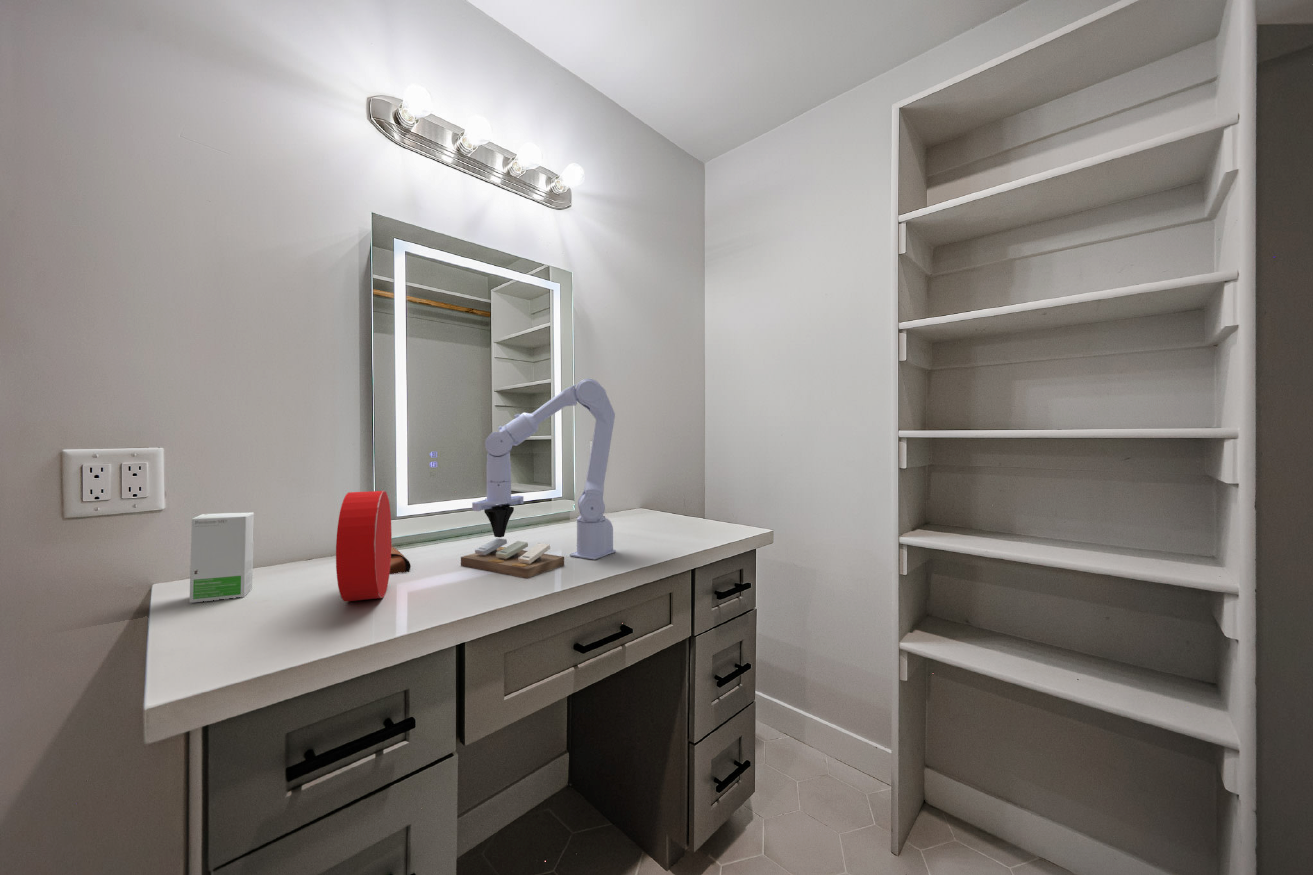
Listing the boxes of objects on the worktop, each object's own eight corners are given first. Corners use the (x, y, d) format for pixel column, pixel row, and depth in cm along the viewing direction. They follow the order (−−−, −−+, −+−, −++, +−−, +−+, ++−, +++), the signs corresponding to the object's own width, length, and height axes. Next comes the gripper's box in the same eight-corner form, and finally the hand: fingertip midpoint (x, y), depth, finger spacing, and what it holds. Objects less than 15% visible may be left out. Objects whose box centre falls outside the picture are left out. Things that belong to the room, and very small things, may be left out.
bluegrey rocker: (497, 541, 125) (497, 537, 125) (507, 543, 123) (506, 539, 123) (475, 553, 119) (474, 549, 119) (484, 555, 117) (484, 550, 117)
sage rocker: (518, 544, 121) (517, 540, 121) (528, 546, 120) (527, 542, 120) (496, 557, 115) (495, 552, 115) (506, 558, 114) (505, 554, 114)
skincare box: (188, 604, 91) (187, 518, 91) (200, 594, 97) (199, 513, 97) (246, 597, 95) (245, 515, 95) (255, 587, 101) (254, 510, 101)
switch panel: (500, 554, 128) (500, 543, 128) (564, 565, 118) (564, 552, 118) (460, 565, 118) (460, 553, 118) (527, 578, 107) (527, 564, 107)
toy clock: (359, 584, 103) (359, 486, 103) (391, 581, 105) (391, 485, 105) (336, 617, 85) (335, 498, 84) (375, 613, 87) (374, 497, 87)
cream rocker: (540, 546, 118) (539, 542, 118) (550, 548, 116) (549, 544, 116) (519, 562, 112) (517, 557, 112) (529, 564, 110) (528, 559, 110)
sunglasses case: (355, 561, 122) (370, 535, 124) (383, 571, 126) (398, 546, 128) (368, 577, 108) (386, 548, 110) (399, 589, 112) (416, 560, 114)
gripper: (509, 478, 131) (509, 530, 131) (463, 483, 119) (463, 540, 119) (529, 479, 128) (529, 532, 128) (484, 484, 115) (484, 543, 115)
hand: (499, 536), depth 123 cm, fingers closed
